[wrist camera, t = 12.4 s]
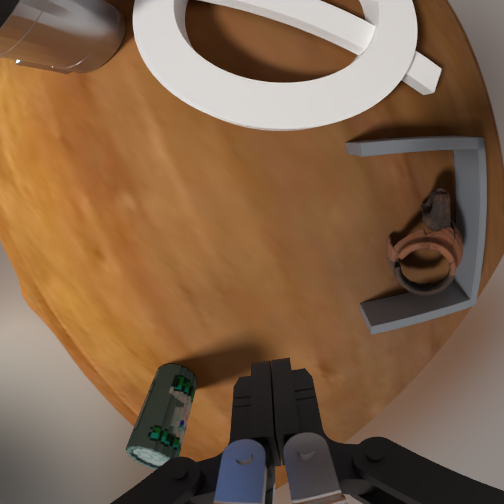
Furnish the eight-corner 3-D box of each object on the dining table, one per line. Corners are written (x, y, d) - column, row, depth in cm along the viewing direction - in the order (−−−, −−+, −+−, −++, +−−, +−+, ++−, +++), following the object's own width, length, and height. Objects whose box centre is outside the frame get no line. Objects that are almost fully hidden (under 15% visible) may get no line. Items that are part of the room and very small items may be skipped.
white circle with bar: (122, -14, 21) (105, -29, 17) (329, -79, 16) (335, -98, 12) (206, 172, 30) (196, 178, 26) (434, 93, 25) (456, 89, 20)
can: (197, 393, 42) (178, 473, 28) (160, 388, 42) (133, 463, 28) (194, 367, 39) (170, 453, 25) (155, 361, 40) (120, 441, 26)
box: (359, 311, 35) (371, 334, 30) (345, 142, 28) (360, 143, 23) (457, 287, 33) (475, 305, 29) (458, 135, 26) (484, 137, 21)
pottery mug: (452, 259, 32) (455, 305, 27) (387, 252, 37) (380, 296, 31) (466, 176, 25) (480, 213, 20) (389, 169, 30) (386, 203, 24)
